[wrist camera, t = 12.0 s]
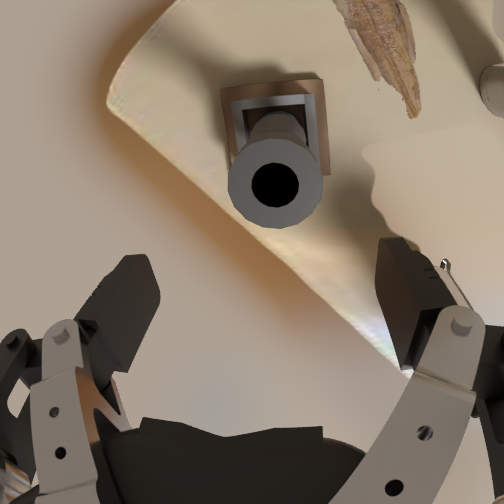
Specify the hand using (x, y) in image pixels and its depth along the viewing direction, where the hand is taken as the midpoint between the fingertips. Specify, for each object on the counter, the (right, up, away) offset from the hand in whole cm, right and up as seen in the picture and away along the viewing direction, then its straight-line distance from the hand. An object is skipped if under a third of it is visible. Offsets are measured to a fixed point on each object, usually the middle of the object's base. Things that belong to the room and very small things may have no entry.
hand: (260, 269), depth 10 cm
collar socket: (+3, +18, +30) cm, 35 cm away
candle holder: (+3, +17, +29) cm, 34 cm away
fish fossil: (+18, +31, +21) cm, 42 cm away
